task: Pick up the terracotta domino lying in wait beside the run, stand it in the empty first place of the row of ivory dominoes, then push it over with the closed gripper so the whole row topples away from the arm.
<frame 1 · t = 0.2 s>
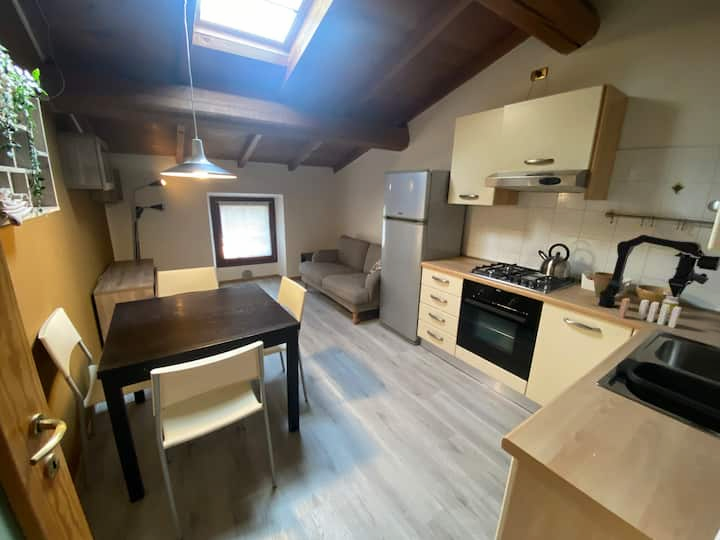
hand: (676, 295, 151), 14 cm above the counter, tool pointing down, fingers open, 9 cm apart
terracotta domino: (621, 316, 159), on the counter
ivory domino 2: (640, 318, 158), on the counter
ivory domino 3: (650, 320, 154), on the counter
pill bottle: (666, 315, 164), on the counter
ivory domino 5: (671, 326, 148), on the counter
plant pot: (603, 298, 192), on the counter
ivory domino 4: (661, 323, 151), on the counter
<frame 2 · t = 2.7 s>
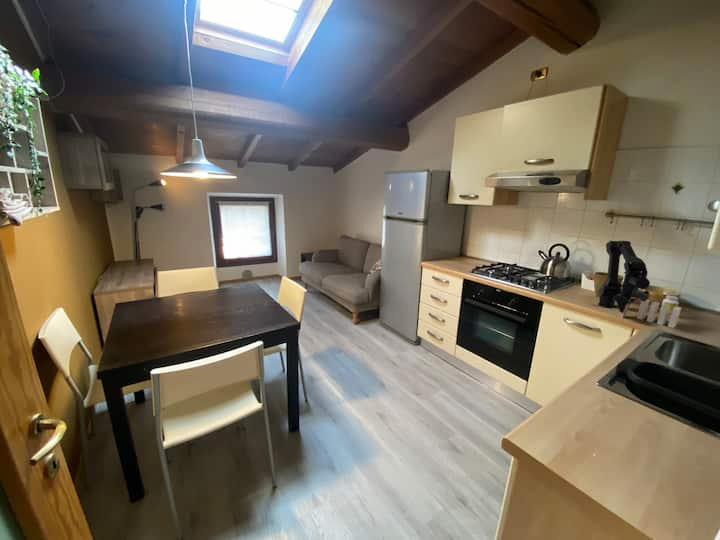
hand: (623, 311, 158), 3 cm above the counter, tool pointing down, fingers closed on terracotta domino, 5 cm apart
terracotta domino: (621, 316, 159), on the counter, touching gripper
everything else where it was.
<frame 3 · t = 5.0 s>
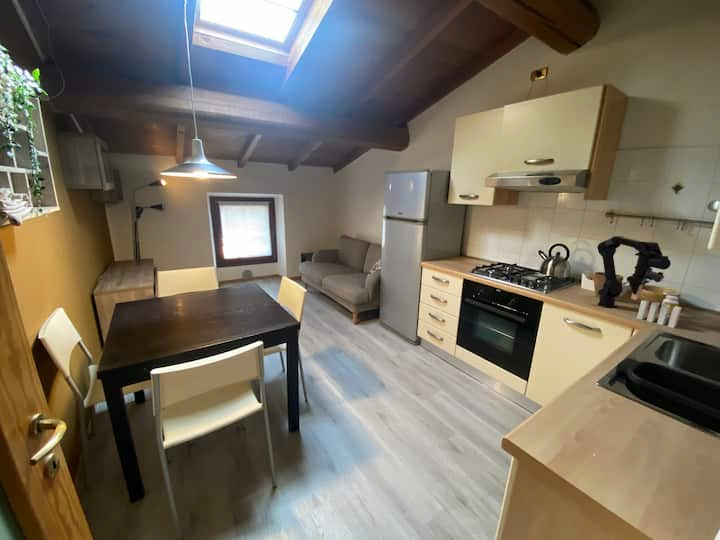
hand: (636, 293, 158), 13 cm above the counter, tool pointing down, fingers closed on terracotta domino, 5 cm apart
terracotta domino: (634, 298, 159), point 10 cm above the counter, touching gripper
everything else where it was.
when the fingers open (4 cm above the counter, at t = 7.5 s): terracotta domino drops 1 cm, on the counter.
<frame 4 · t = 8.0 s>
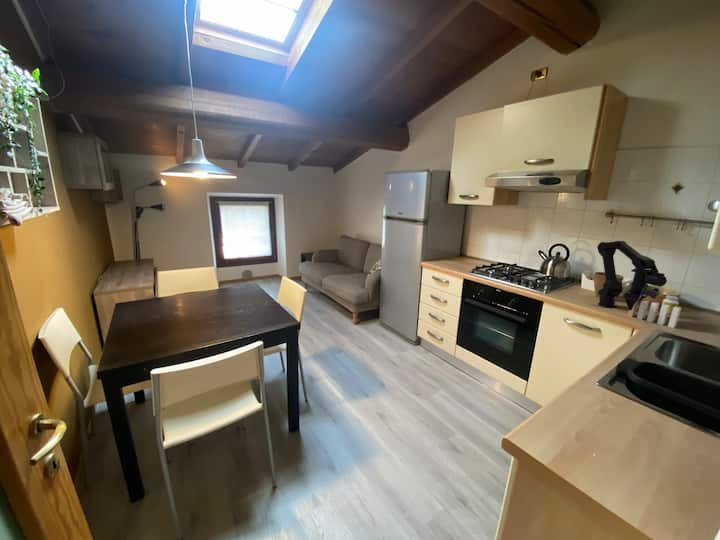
hand: (632, 308, 160), 4 cm above the counter, tool pointing down, fingers open, 9 cm apart
terracotta domino: (631, 315, 161), on the counter
everything else where it was.
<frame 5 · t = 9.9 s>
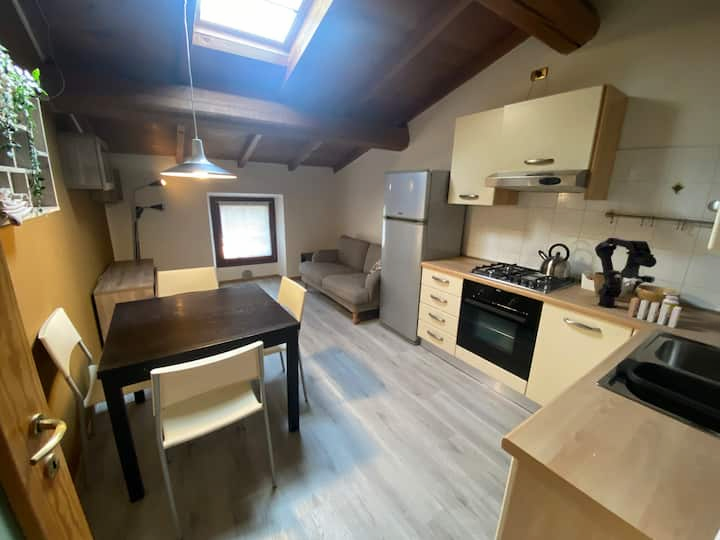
hand: (626, 291, 162), 13 cm above the counter, tool pointing down, fingers open, 5 cm apart
nothing on the counter moved.
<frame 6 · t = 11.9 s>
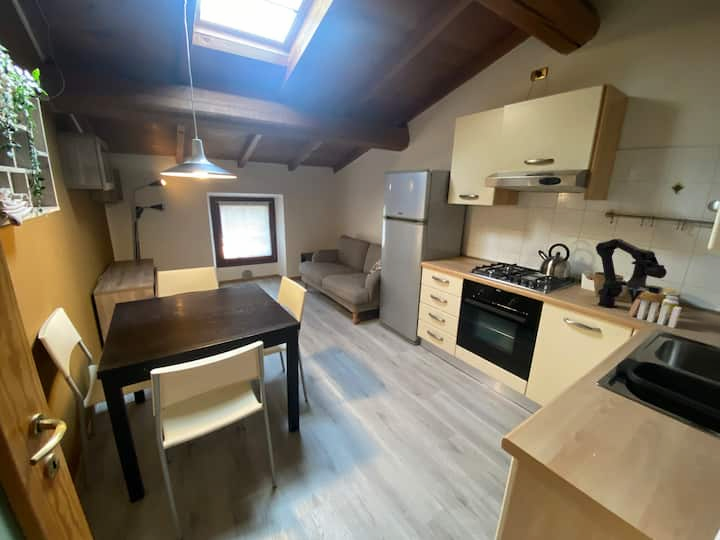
hand: (633, 301, 160), 8 cm above the counter, tool pointing down, fingers closed
terracotta domino: (631, 315, 161), on the counter, tilted 10°
everything else where it was.
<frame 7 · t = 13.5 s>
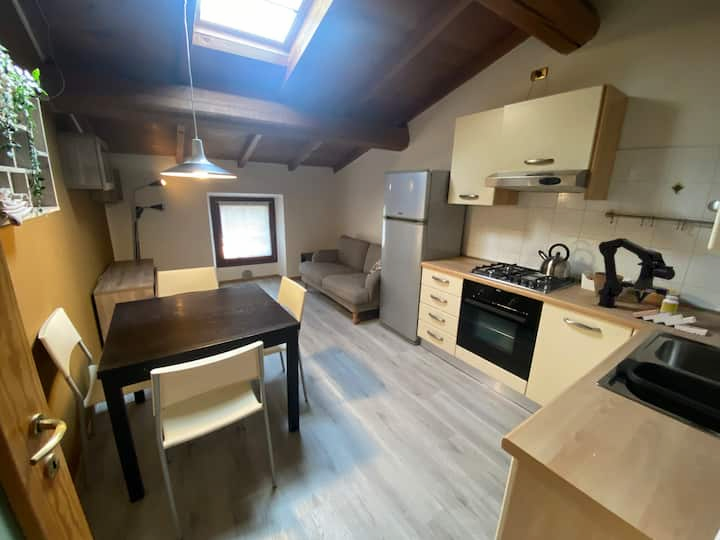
hand: (639, 303, 158), 8 cm above the counter, tool pointing down, fingers closed
terracotta domino: (634, 314, 160), point 1 cm above the counter, tilted 60°, touching ivory domino 2
ivory domino 2: (644, 317, 156), point 1 cm above the counter, tilted 60°, touching ivory domino 3, terracotta domino
ivory domino 3: (655, 320, 153), point 1 cm above the counter, tilted 60°, touching ivory domino 2, ivory domino 4
ivory domino 5: (676, 325, 147), point 1 cm above the counter, tilted 90°, touching ivory domino 4
ivory domino 4: (666, 322, 149), point 1 cm above the counter, tilted 60°, touching ivory domino 3, ivory domino 5
everything else where it was.
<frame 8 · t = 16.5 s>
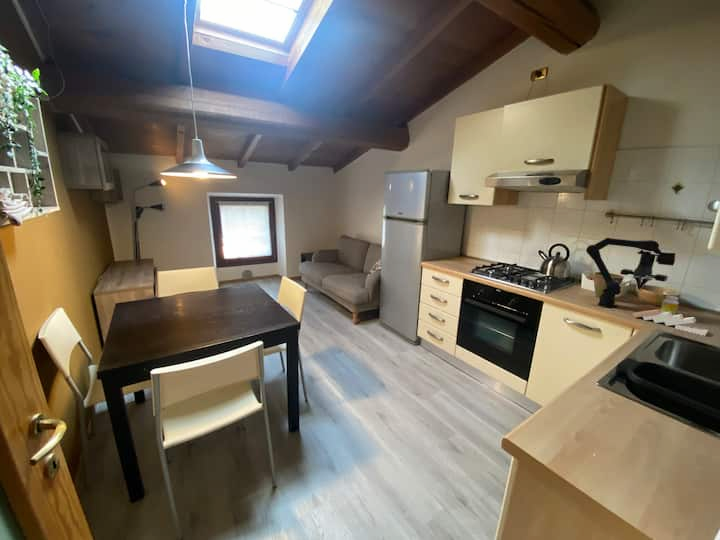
hand: (639, 289, 166), 13 cm above the counter, tool pointing down, fingers closed
nothing on the counter moved.
at the end: ivory domino 5 tilted 90°; terracotta domino tilted 60°; terracotta domino inside the target area (0.9 cm from its centre), point 0.8 cm above the counter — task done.
